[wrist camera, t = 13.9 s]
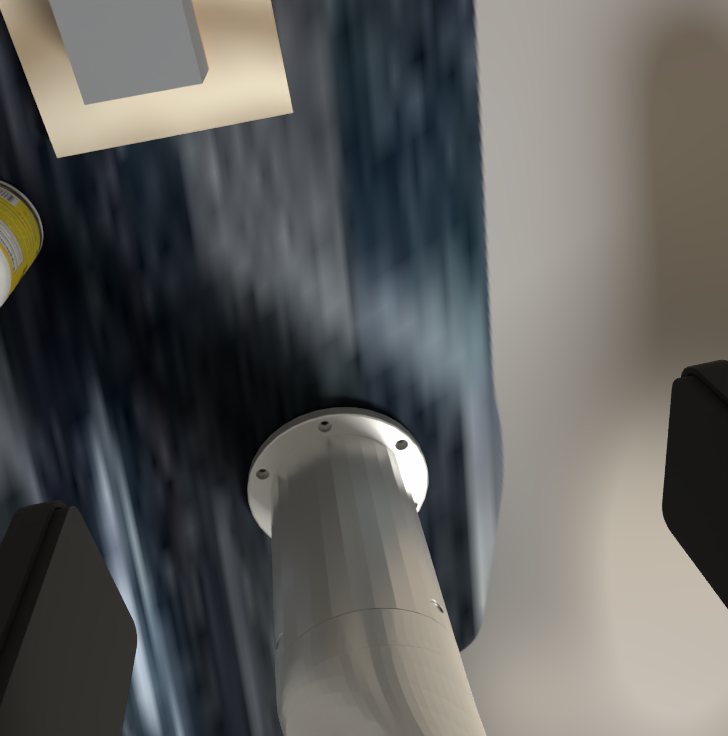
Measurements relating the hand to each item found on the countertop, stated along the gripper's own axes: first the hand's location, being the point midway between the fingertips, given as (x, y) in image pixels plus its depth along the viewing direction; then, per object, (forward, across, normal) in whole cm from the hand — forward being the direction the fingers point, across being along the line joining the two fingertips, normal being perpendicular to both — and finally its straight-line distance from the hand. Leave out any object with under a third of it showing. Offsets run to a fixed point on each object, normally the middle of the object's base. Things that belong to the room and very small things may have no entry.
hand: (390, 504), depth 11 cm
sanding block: (+29, +6, -8) cm, 30 cm away
